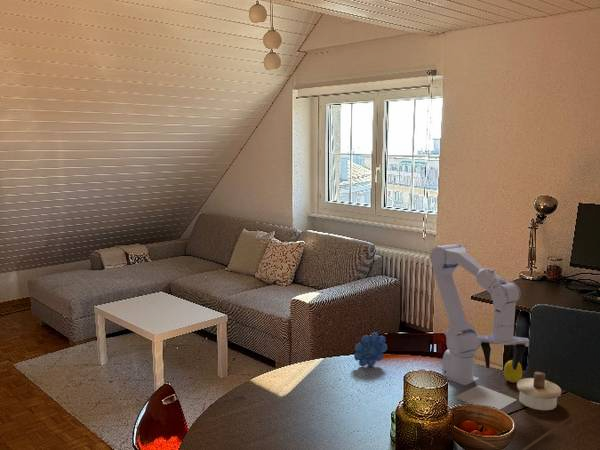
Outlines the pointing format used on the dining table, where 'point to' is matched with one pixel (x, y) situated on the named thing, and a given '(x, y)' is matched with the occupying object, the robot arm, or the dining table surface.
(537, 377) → the lid
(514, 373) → the lemon
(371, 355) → the grapes
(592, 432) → the dining table surface
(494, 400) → the mat
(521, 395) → the bowl
